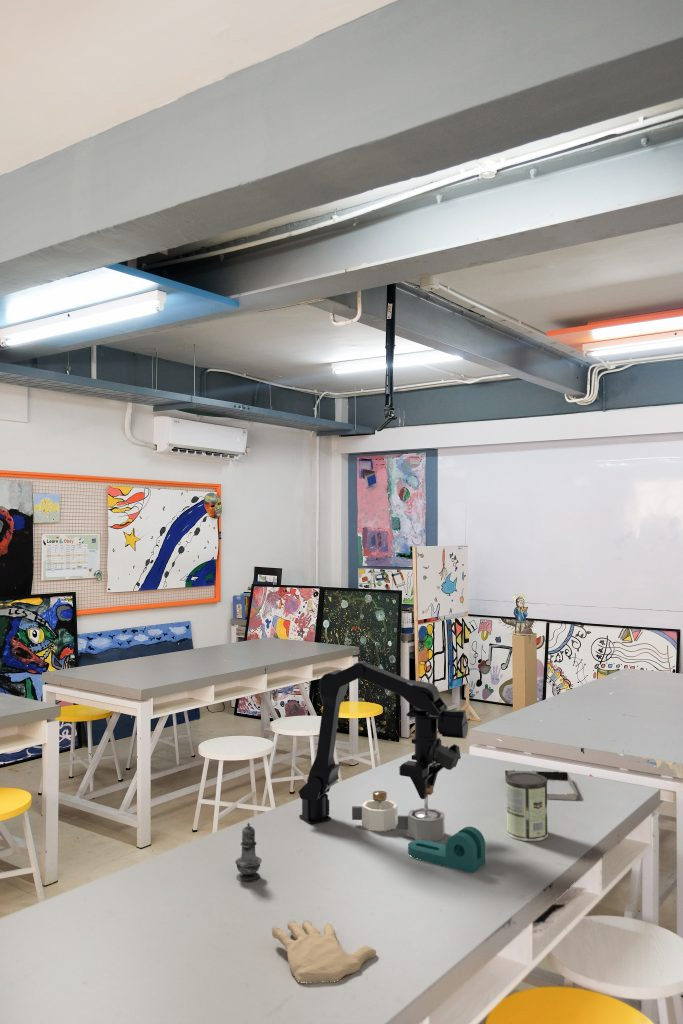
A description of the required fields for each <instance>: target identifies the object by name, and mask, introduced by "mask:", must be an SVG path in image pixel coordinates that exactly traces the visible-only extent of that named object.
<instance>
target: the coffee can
mask: <svg viewBox="0 0 683 1024" xmlns="http://www.w3.org/2000/svg"><path fill="white" fill-rule="evenodd" d="M548 780H549V779H547V778H546V777H544V776H542V775H539V774H534V773H513V774H509V775H508V776H506V779H505V782H506V781H507V785H506V834H507V835H508V836H509V837H510V838H512V839H514V840H516V841H523V842H540V841H543V840H545V839H547V838H548V836H549V834H548V799H547V794H548V782H549V781H548Z"/></svg>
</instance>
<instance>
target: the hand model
mask: <svg viewBox="0 0 683 1024" xmlns="http://www.w3.org/2000/svg"><path fill="white" fill-rule="evenodd" d="M301 925H302V926H301ZM301 925H300V924H299V923H298V922H297V921H296V920H295V919H293V918H290V919H289V920H288V921H287V930H289V931H290V933H291V935H292V936H293V938H294V939H295V940H294V939H292V938H291V937H290V936H288V934H287V933H285V932H284V930H283V929H281V927H279V926H278V925H275V924H274V925H273V926H272V927H271V935H272V938H274V939H276V940H278V941H279V942H280V943H281V944H282V945H283V946H284V947H285V949H286V952H287V961H288V964H289V966H288V967H289V968H290V971H291V974H292V975H293V977H294V976H295V977H294V979H295V980H296V981H297V982H298V981H299V982H305V983H306V982H307V983H309V982H322V981H331V982H330V983H335V982H334V981H337V980H339V981H340V980H342V979H343V978H344V977H345V976H347V975H350V974H354V973H357V972H359V970H360V969H361V968H362V965H363V964H364V963H365V962H366V961H367V960H369V959H372V958H375V957H376V956H377V950H376V949H375V948H373V947H371V946H369V945H364V946H361V947H359V948H358V949H357V950H355V951H354V952H353V953H348V952H346V951H345V950H344V949H343V948H342V947H341V945H340V943H339V942H338V940H337V938H336V930H335V929H334V927H333V925H332V923H329V922H328V923H325V925H324V927H323V931H324V934H321V932H320V930H319V929H318V928H317V927H315V926H314V925H313V924H312V921H310V920H309V919H308V920H307V919H305V920H303V921H302V923H301ZM364 961H365V962H364ZM299 982H298V983H299ZM337 982H338V981H337Z"/></svg>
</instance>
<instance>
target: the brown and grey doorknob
mask: <svg viewBox="0 0 683 1024" xmlns="http://www.w3.org/2000/svg"><path fill="white" fill-rule="evenodd" d="M387 795H388V793H387V792H386V791H384V790H375V791H374V790H373V792H372V800H375V801H378V810H381V801H385V800H388V799H387Z"/></svg>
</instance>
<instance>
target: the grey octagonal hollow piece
mask: <svg viewBox="0 0 683 1024" xmlns="http://www.w3.org/2000/svg"><path fill="white" fill-rule="evenodd" d="M419 811H424V807H421V808H415V809H411V810H409V811H408V814H407V815H398V824H397V830H399V831H400V830H401V831H403V830H405V831H407V836H408V835H409V836H410V837H409V836H408V837H409V838H411V837H412V838H414V839H415V840H427V841H431V842H437V841H440V840H444V837H445V834H446V833H445V832H446V831H445V829H446V828H445V827H446V826H445V812H443V811H442V810H441V811H440V810H438V809H436V808H429V807H428V811H432V812H435V813H437V818H435V819H431V820H429V819H418V818H416V817H415V813H416V812H419ZM412 838H411V839H412ZM414 839H413V840H414ZM415 840H414V841H415Z"/></svg>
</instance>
